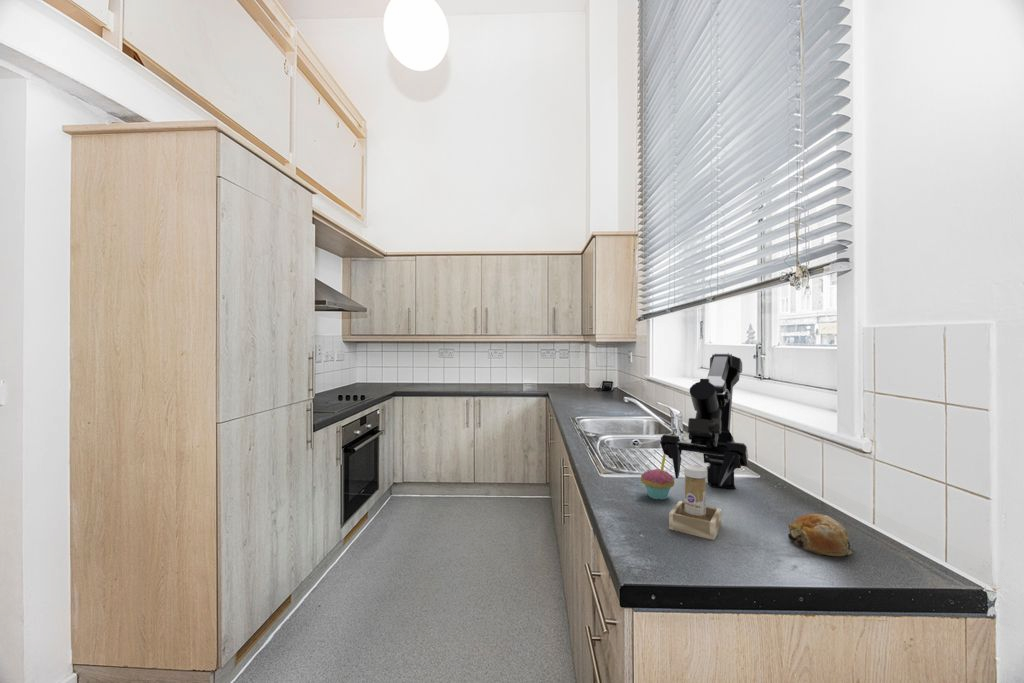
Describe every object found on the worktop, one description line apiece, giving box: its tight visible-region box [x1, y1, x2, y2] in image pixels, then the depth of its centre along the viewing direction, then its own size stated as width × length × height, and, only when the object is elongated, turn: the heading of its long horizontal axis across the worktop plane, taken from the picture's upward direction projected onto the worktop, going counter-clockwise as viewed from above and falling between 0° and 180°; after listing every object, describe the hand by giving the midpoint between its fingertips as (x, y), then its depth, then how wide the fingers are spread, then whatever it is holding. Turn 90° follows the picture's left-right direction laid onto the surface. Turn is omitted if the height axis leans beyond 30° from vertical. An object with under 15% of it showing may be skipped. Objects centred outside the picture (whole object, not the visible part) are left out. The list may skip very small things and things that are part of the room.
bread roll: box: [787, 513, 853, 557], centre depth 86 cm, size 10×10×8 cm
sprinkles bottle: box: [683, 464, 707, 520], centre depth 95 cm, size 5×5×14 cm
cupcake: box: [640, 453, 675, 500], centre depth 113 cm, size 9×8×12 cm
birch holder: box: [668, 500, 723, 541], centre depth 95 cm, size 9×9×4 cm
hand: (697, 481), depth 97 cm, fingers open, 9 cm apart
